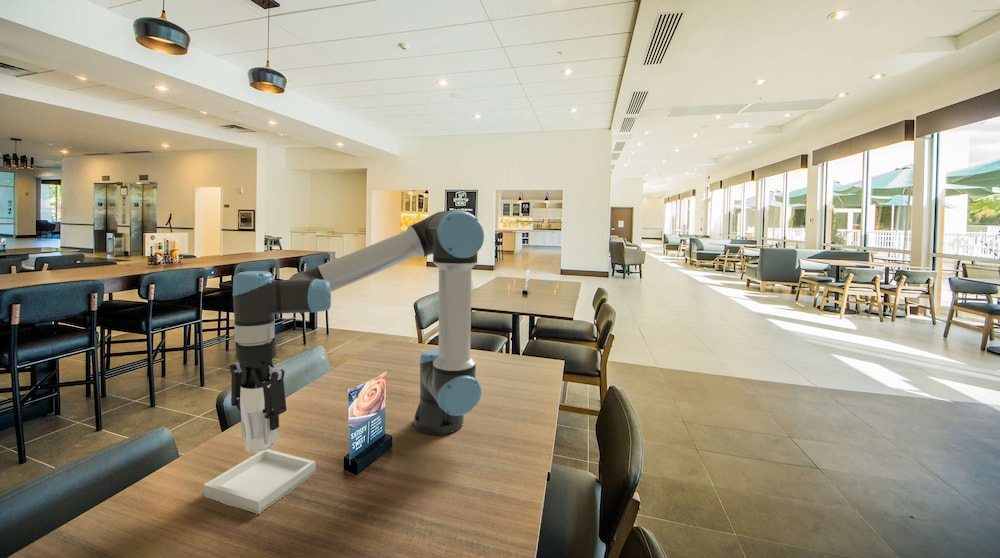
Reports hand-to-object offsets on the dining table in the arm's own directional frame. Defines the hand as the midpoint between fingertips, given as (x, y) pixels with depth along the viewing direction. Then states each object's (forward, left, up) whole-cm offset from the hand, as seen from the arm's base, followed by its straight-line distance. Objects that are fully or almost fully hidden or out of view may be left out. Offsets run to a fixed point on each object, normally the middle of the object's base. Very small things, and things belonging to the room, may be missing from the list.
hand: (260, 438), depth 95 cm
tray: (0, 0, -11) cm, 11 cm away
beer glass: (0, 0, -2) cm, 2 cm away
